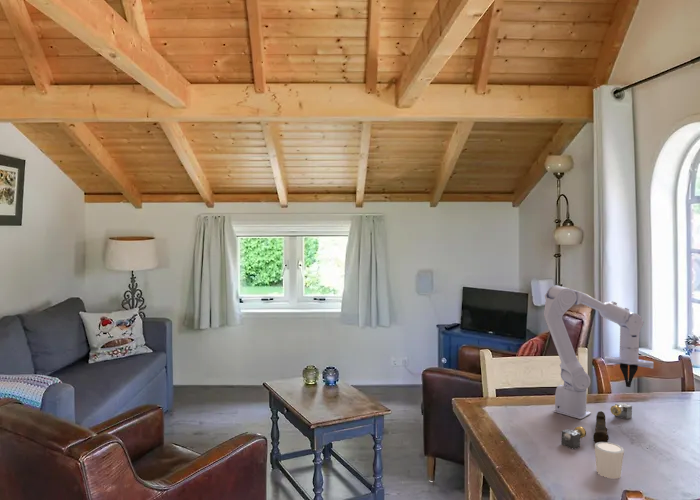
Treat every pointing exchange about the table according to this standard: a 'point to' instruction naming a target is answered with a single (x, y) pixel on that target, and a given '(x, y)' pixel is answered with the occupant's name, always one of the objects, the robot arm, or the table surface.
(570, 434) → the grey metal fitting
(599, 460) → the cream cylinder
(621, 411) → the grey block with knob
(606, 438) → the hand tool
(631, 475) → the table surface
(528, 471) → the table surface
